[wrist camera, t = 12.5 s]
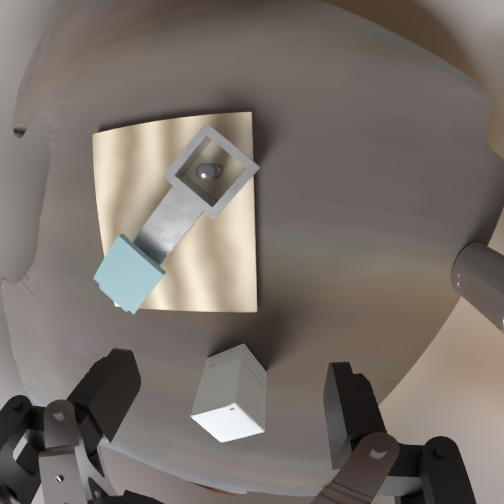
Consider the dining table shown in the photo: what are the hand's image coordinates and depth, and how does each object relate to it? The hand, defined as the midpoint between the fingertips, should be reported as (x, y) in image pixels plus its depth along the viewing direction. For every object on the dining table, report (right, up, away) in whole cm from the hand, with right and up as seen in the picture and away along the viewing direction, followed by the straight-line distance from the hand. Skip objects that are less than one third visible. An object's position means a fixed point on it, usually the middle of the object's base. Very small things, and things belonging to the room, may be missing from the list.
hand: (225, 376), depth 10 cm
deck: (-10, +9, +26) cm, 29 cm away
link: (-7, +11, +24) cm, 27 cm away
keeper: (-14, +4, +28) cm, 31 cm away
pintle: (-3, +15, +24) cm, 28 cm away
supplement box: (-1, -13, +33) cm, 36 cm away
